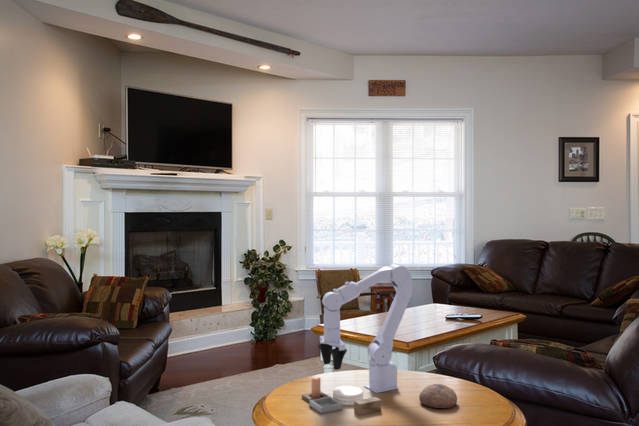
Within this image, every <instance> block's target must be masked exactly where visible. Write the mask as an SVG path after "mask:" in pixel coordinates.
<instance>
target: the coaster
mask: <svg viewBox="0 0 639 426" xmlns="http://www.w3.org/2000/svg"><path fill="white" fill-rule="evenodd" d="M363 394H364V391H363V389H362V388H360V387H359V386H358V387H357V386H353V385H340V386H337V387H335V388H334V389H333V391H332V398H334V399H335V400H337V401H339V402H340V403H342V406H354V401H358V400H363V399H364V395H363Z"/></svg>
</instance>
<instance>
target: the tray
mask: <svg viewBox="0 0 639 426" xmlns="http://www.w3.org/2000/svg"><path fill="white" fill-rule="evenodd" d="M309 407H310V408H311V409H313V410H314V411H315V412H317V413H319V414H320V415H322V414H323V415H324V414H328V413H333V412H338V411H343V405H342V403H340V402H339V401H337V400H335V399H334V398H333V396H329V397H325V398H319V399H314V400H310V403H309Z"/></svg>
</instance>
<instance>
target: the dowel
mask: <svg viewBox="0 0 639 426" xmlns="http://www.w3.org/2000/svg"><path fill="white" fill-rule="evenodd" d="M310 387H311V392H310V393H311V398H313V399H315V398H320V397H321V392H322V391H321V377H320V376H313V377H311V386H310Z"/></svg>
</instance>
